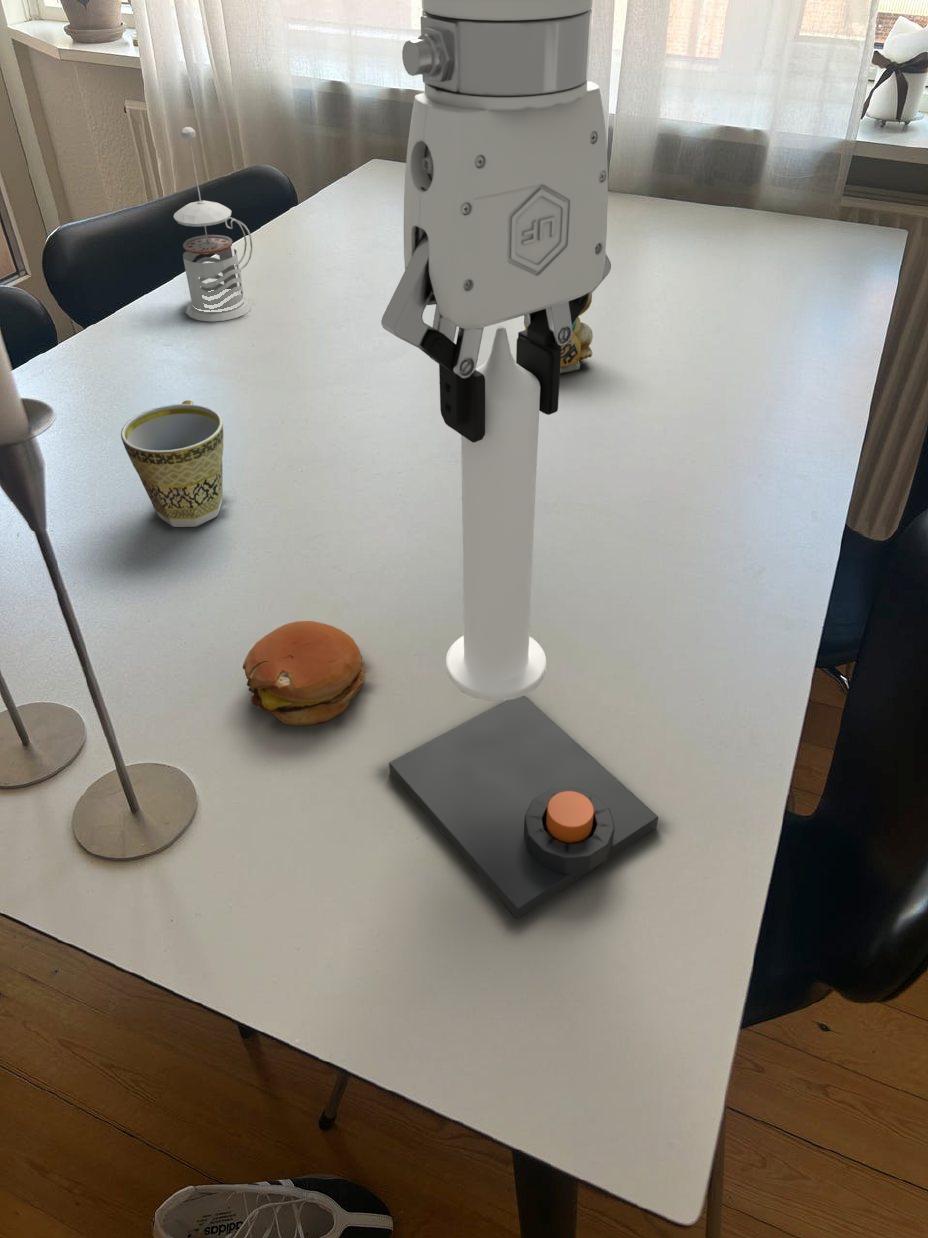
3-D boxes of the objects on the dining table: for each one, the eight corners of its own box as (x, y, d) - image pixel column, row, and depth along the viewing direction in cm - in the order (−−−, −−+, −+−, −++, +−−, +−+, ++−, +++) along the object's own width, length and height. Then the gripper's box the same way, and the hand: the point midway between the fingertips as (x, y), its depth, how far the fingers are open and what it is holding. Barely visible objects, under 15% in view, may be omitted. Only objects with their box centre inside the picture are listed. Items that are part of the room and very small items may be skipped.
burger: (365, 647, 86) (361, 607, 83) (365, 724, 79) (360, 682, 76) (254, 654, 85) (245, 614, 82) (243, 731, 78) (233, 690, 75)
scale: (662, 832, 70) (667, 805, 68) (522, 925, 64) (523, 899, 62) (521, 702, 80) (522, 676, 79) (389, 772, 75) (387, 746, 73)
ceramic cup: (229, 536, 99) (212, 450, 93) (132, 537, 99) (108, 452, 93) (249, 470, 109) (234, 389, 103) (161, 471, 109) (141, 390, 103)
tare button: (601, 828, 67) (603, 812, 66) (566, 851, 66) (568, 835, 65) (571, 799, 69) (573, 783, 68) (536, 820, 68) (537, 804, 67)
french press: (174, 307, 146) (136, 126, 130) (240, 287, 152) (212, 112, 136) (206, 326, 140) (171, 140, 124) (274, 305, 146) (249, 124, 130)
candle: (425, 665, 68) (408, 325, 52) (497, 621, 72) (502, 291, 56) (494, 718, 64) (499, 367, 48) (566, 669, 68) (594, 327, 52)
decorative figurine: (538, 383, 125) (543, 268, 116) (506, 359, 131) (508, 247, 121) (599, 367, 129) (609, 253, 119) (566, 344, 134) (572, 234, 125)
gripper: (393, 97, 38) (414, 494, 49) (697, 46, 45) (653, 401, 57) (301, 67, 42) (340, 436, 54) (591, 25, 50) (570, 357, 62)
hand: (500, 415), depth 55 cm, fingers closed on candle, 4 cm apart
